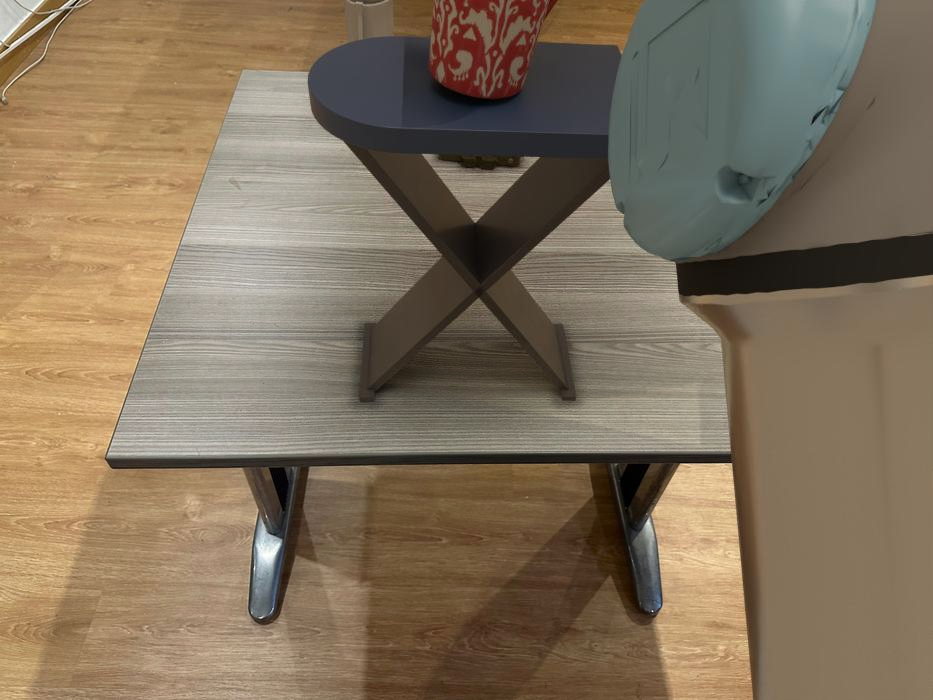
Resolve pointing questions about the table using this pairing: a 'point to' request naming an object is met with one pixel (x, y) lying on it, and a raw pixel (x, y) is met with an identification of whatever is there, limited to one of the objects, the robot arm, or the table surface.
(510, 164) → the landmine
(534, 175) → the x-leg side table
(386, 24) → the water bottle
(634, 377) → the table surface
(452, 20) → the mug
